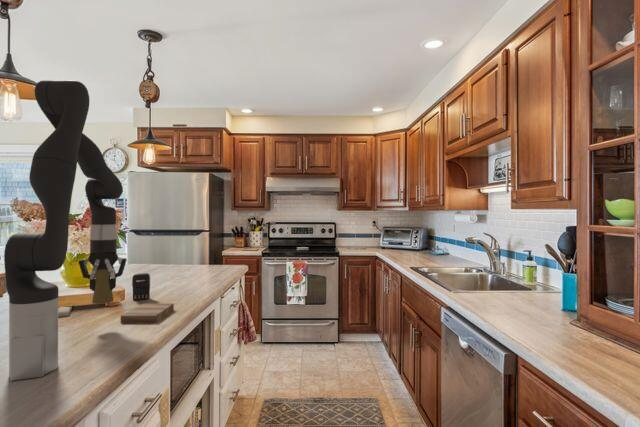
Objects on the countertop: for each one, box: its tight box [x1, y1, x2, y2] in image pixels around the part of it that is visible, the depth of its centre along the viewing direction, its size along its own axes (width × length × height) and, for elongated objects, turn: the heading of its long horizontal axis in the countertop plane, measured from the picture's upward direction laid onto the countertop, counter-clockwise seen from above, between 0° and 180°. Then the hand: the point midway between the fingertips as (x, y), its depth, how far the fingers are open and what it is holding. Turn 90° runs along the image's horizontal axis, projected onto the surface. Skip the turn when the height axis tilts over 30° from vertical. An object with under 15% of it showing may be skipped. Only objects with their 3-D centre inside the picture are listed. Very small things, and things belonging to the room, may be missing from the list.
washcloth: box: [58, 307, 73, 318], centre depth 135 cm, size 12×18×3 cm, turn 31°
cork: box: [91, 269, 114, 305], centre depth 117 cm, size 6×6×11 cm
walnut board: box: [120, 303, 175, 324], centre depth 131 cm, size 16×12×2 cm
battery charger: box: [131, 272, 151, 301], centre depth 155 cm, size 7×4×11 cm, turn 111°
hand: (103, 289), depth 117 cm, fingers closed on cork, 4 cm apart
